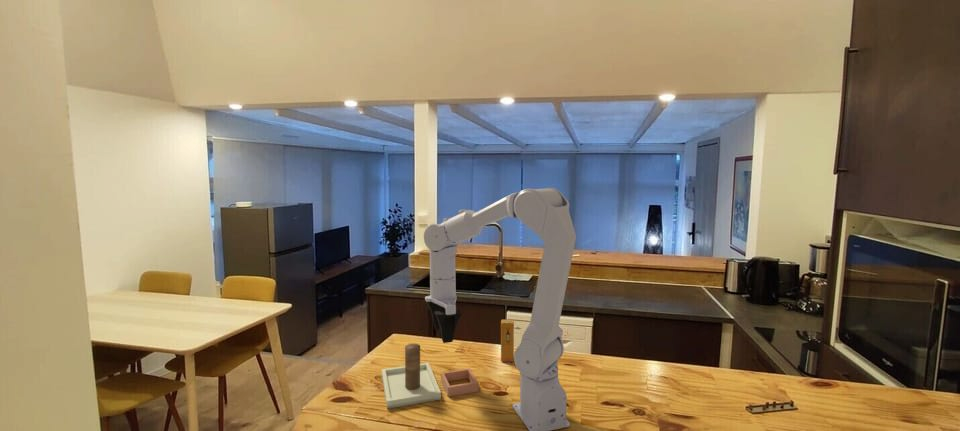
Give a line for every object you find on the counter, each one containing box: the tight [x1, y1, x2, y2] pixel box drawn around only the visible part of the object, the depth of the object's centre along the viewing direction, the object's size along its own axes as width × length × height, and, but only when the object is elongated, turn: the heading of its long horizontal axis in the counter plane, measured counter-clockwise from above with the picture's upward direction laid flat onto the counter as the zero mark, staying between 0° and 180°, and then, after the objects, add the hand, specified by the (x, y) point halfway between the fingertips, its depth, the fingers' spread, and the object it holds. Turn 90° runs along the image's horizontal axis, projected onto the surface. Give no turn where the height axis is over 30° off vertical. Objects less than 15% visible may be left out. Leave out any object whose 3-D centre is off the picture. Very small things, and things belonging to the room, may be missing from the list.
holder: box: [440, 368, 480, 398], centre depth 89 cm, size 7×7×2 cm
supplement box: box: [500, 319, 515, 363], centre depth 102 cm, size 3×3×10 cm
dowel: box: [404, 343, 421, 390], centre depth 87 cm, size 3×3×9 cm
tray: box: [381, 362, 442, 410], centre depth 89 cm, size 14×11×2 cm
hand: (443, 335), depth 91 cm, fingers open, 7 cm apart
